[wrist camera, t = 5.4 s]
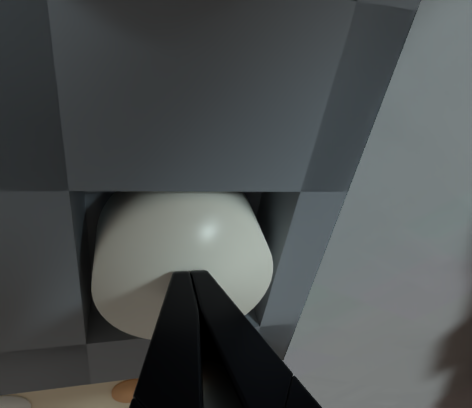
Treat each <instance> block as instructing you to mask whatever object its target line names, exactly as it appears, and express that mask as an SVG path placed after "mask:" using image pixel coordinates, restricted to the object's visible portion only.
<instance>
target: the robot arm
mask: <svg viewBox="0 0 472 408" xmlns="http://www.w3.org/2000/svg"><path fill="white" fill-rule="evenodd" d="M292 376H293V373H292V372H291V371H290V369H289V368H288V367H287V366H286V365H285V363H284V362H283V361H282V360H281V359H280V357H279V356H278V355H277V354H276V353H275V351H274V350H273V349H272V348H271V347H270V345H269V344H268V343H267V342H266V341H265V339H264V338H263V337H262V336H261V335H260V333H259V332H258V331H257V330H256V329H255V327H254V326H253V325H252V324H251V322H250V321H249V320H248V319H247V318H246V316H245V315H244V314H243V313H242V312H241V310H240V309H239V308H238V307H237V306H236V304H235V303H234V302H233V301H232V300H231V298H230V297H229V296H228V295H227V294H226V292H225V291H224V290H223V289H222V288H221V286H220V285H219V284H218V283H217V282H216V280H215V279H214V278H213V277H212V276H211V274H210V273H209V272H208V271H206V270H195V271H191V272H189V271H176V272H173V273H172V276H171V279H170V282H169V285H168V288H167V291H166V294H165V298H164V301H163V304H162V307H161V310H160V313H159V316H158V319H157V322H156V326H155V329H154V332H153V335H152V338H151V341H150V344H149V347H148V350H147V354H146V357H145V360H144V363H143V366H142V369H141V372H140V375H139V379H138V382H137V385H136V388H135V391H134V394H133V399H132V400H131V403H130V406H129V408H322V407H321V406H320V405H319V404H318V402H317V401H316V400H315V399H314V398H313V397H312V396H311V394H310V393H309V392H308V391H307V390H306V389H305V387H304V386H303V385H302V384H301V383H300V381H299V380H298V379H297V378H296V377H295V376H293V377H292Z"/></svg>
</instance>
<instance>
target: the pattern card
mask: <svg viewBox="0 0 472 408" xmlns="http://www.w3.org/2000/svg"><path fill="white" fill-rule="evenodd" d="M138 379H139V378H136V379H128V380H120V381H112V382H104V383H96V384H88V385H80V386H72V387H64V388H56V389H48V390H40V391H32V392H25V393H17V394H9V395H1V396H0V408H129V406H130V403H131V400H132V399H133V394H134V391H135V388H136V385H137V382H138Z"/></svg>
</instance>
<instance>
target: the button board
mask: <svg viewBox="0 0 472 408" xmlns="http://www.w3.org/2000/svg"><path fill="white" fill-rule="evenodd" d="M420 2H421V0H0V396H1V395H9V394H17V393H25V392H32V391H40V390H48V389H56V388H64V387H72V386H80V385H88V384H96V383H104V382H112V381H120V380H128V379H136V378H139V375H140V372H141V369H142V366H143V363H144V360H145V357H146V354H147V350H148V347H149V344H150V341H151V340H150V339H145V338H140V337H137V336H133V335H130V334H128V333H125V332H123V331H121V330H119V329H118V328H116V327H114V326H113V325H111V324H110V323H109V322H108V321H106V320H105V318H104V317H103V316H102V315H101V314H100V313H99V311H98V309H97V308H96V306H95V303H94V301H93V297H92V292H91V282H92V272H93V262H94V251H95V241H96V231H97V224H98V219H99V216H100V213H101V211H102V209H103V207H104V205H105V204H106V202H107V201H108V199H109V198H110V197H111V196H112V194H113V193H115V192H116V191H165V192H243V193H244V194H245V195H246V197H247V199H248V201H249V203H250V205H251V208H252V210H253V212H254V215H255V217H256V219H257V222H258V224H259V226H260V228H261V231H262V233H263V235H264V238H265V240H266V242H267V245H268V247H269V249H270V252H271V255H272V260H273V274H272V279H271V282H270V285H269V287H268V289H267V291H266V293H265V295H264V296H263V297H262V299H261V300H260V301H259V303H258V304H257V305H256V306H255V307H254V308H253V309H252V310H251V311H250V312H248V313H247V314H246V315H245V316H246V318H247V319H248V320H249V321H250V322H251V324H252V325H253V326H254V327H255V329H256V330H257V331H258V332H259V333H260V335H261V336H262V337H263V338H264V339H265V341H266V342H267V343H268V344H269V345H270V347H271V348H272V349H273V350H274V351H275V353H276V354H277V355H278V356H279V357H280V359H281V360H284V357H285V355H286V352H287V349H288V347H289V344H290V341H291V339H292V336H293V334H294V331H295V328H296V326H297V323H298V321H299V318H300V315H301V313H302V310H303V307H304V305H305V302H306V300H307V297H308V294H309V292H310V289H311V287H312V284H313V281H314V279H315V276H316V273H317V271H318V268H319V266H320V263H321V260H322V258H323V255H324V253H325V250H326V247H327V245H328V242H329V239H330V237H331V234H332V232H333V229H334V226H335V224H336V221H337V219H338V216H339V213H340V211H341V208H342V205H343V203H344V200H345V198H346V195H347V192H348V190H349V187H350V185H351V182H352V179H353V177H354V174H355V172H356V169H357V166H358V164H359V161H360V158H361V156H362V153H363V151H364V148H365V145H366V143H367V140H368V138H369V135H370V132H371V130H372V127H373V124H374V122H375V119H376V117H377V114H378V111H379V109H380V106H381V104H382V101H383V98H384V96H385V93H386V90H387V88H388V85H389V83H390V80H391V77H392V75H393V72H394V70H395V67H396V64H397V62H398V59H399V56H400V54H401V51H402V49H403V46H404V43H405V41H406V38H407V36H408V33H409V30H410V28H411V25H412V22H413V20H414V17H415V15H416V12H417V9H418V7H419V4H420Z"/></svg>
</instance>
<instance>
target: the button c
mask: <svg viewBox="0 0 472 408" xmlns="http://www.w3.org/2000/svg"><path fill="white" fill-rule="evenodd" d="M195 270H206V271H208V272H209V273H210V274H211V276H212V277H213V278H214V279H215V280H216V282H217V283H218V284H219V285H220V286H221V288H222V289H223V290H224V291H225V292H226V294H227V295H228V296H229V297H230V298H231V300H232V301H233V302H234V303H235V304H236V306H237V307H238V308H239V309H240V310H241V312H242V313H243V314H244V315H246V314H247V313H248V312H250V311H251V310H252V309H253V308H254V307H255V306H256V305H257V304H258V303H259V301H260V300H261V299H262V297H263V296H264V295H265V293H266V291H267V289H268V287H269V285H270V282H271V279H272V274H273V260H272V255H271V252H270V249H269V247H268V245H267V242H266V240H265V238H264V235H263V233H262V231H261V228H260V226H259V224H258V222H257V219H256V217H255V215H254V212H253V210H252V208H251V205H250V203H249V201H248V199H247V197H246V195H245V194H244V193H243V192H165V191H116V192H115V193H113V194H112V196H111V197H110V198H109V199H108V201H107V202H106V204H105V205H104V207H103V209H102V211H101V213H100V216H99V219H98V224H97V231H96V241H95V251H94V262H93V272H92V282H91V292H92V297H93V301H94V303H95V306H96V308H97V309H98V311H99V313H100V314H101V315H102V316H103V317H104V318H105V320H106V321H108V322H109V323H110V324H111V325H113V326H114V327H116V328H118V329H119V330H121V331H123V332H125V333H128V334H130V335H133V336H137V337H140V338H145V339H150V340H151V338H152V335H153V332H154V329H155V326H156V322H157V319H158V316H159V313H160V310H161V307H162V304H163V301H164V298H165V294H166V291H167V288H168V285H169V282H170V279H171V276H172V273H173V272H176V271H189V272H191V271H195Z"/></svg>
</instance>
